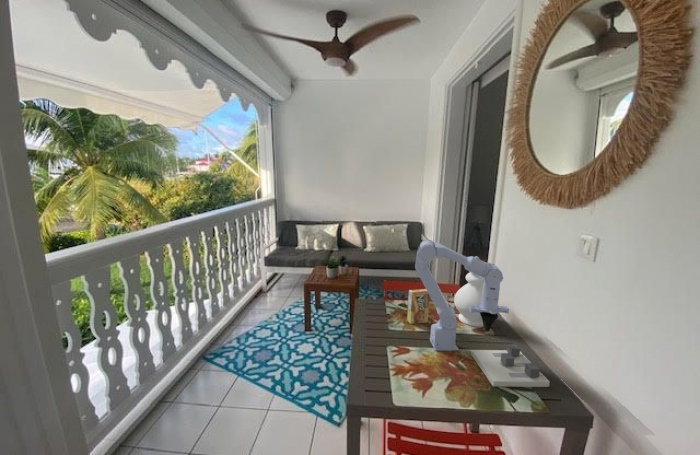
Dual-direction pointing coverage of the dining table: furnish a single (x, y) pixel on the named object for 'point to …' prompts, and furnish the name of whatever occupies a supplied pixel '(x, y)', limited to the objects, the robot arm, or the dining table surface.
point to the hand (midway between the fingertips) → (486, 329)
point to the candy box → (418, 306)
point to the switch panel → (507, 370)
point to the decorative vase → (470, 300)
